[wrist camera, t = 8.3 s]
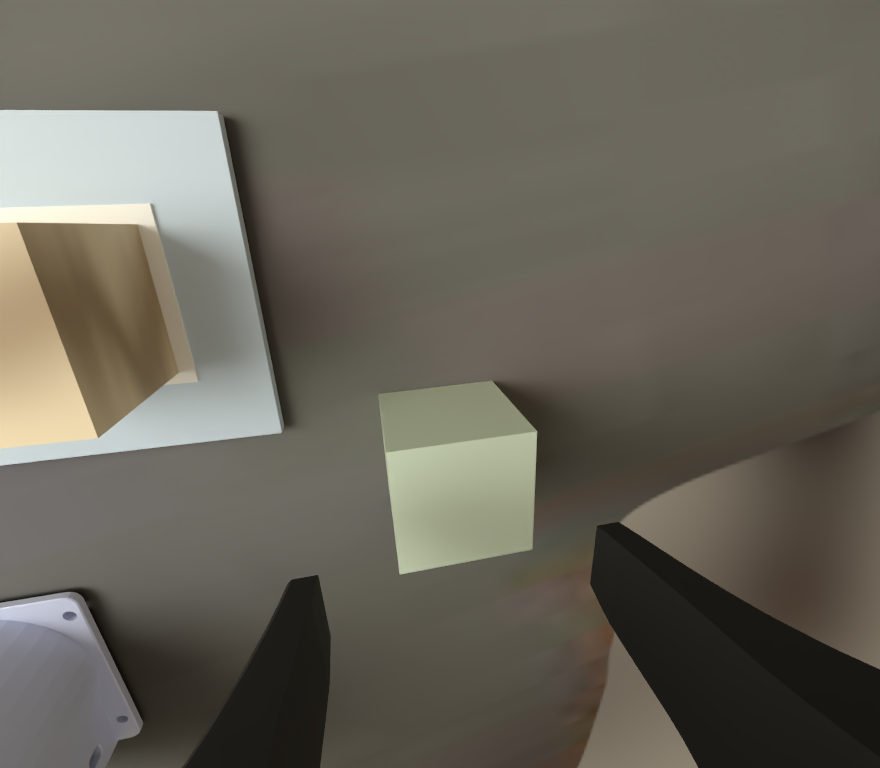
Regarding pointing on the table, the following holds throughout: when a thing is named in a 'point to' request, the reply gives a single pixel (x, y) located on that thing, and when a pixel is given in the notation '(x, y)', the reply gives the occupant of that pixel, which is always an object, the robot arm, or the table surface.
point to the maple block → (76, 331)
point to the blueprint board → (156, 259)
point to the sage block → (458, 474)
